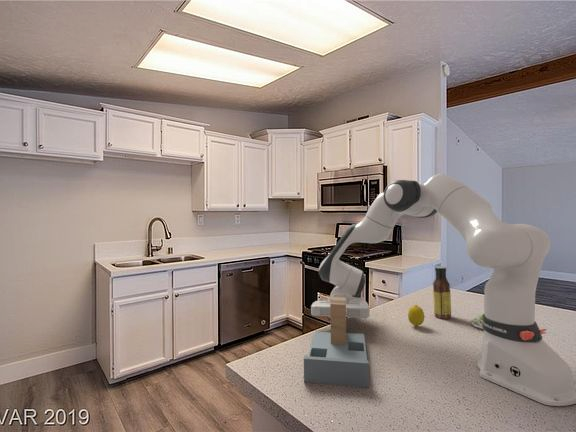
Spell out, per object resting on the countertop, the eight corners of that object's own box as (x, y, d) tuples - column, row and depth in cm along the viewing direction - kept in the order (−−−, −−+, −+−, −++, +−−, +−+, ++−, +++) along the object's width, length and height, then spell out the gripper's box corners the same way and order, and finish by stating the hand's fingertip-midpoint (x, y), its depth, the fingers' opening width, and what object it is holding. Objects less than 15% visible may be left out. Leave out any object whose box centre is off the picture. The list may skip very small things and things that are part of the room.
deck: (315, 340, 109) (314, 322, 109) (364, 343, 106) (364, 324, 106) (304, 382, 83) (303, 358, 83) (368, 387, 80) (368, 363, 80)
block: (332, 333, 107) (331, 296, 106) (346, 334, 106) (345, 297, 105) (330, 343, 99) (330, 304, 98) (345, 344, 98) (345, 304, 98)
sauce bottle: (452, 315, 131) (452, 266, 130) (450, 320, 125) (450, 269, 125) (434, 313, 134) (434, 265, 134) (431, 317, 129) (431, 267, 128)
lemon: (421, 324, 122) (421, 303, 122) (426, 329, 117) (426, 307, 116) (406, 323, 123) (406, 302, 122) (410, 329, 117) (410, 307, 117)
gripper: (312, 295, 123) (307, 305, 110) (368, 297, 120) (370, 308, 106) (312, 311, 124) (308, 324, 110) (368, 314, 120) (370, 327, 106)
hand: (339, 316), depth 108 cm, fingers closed
